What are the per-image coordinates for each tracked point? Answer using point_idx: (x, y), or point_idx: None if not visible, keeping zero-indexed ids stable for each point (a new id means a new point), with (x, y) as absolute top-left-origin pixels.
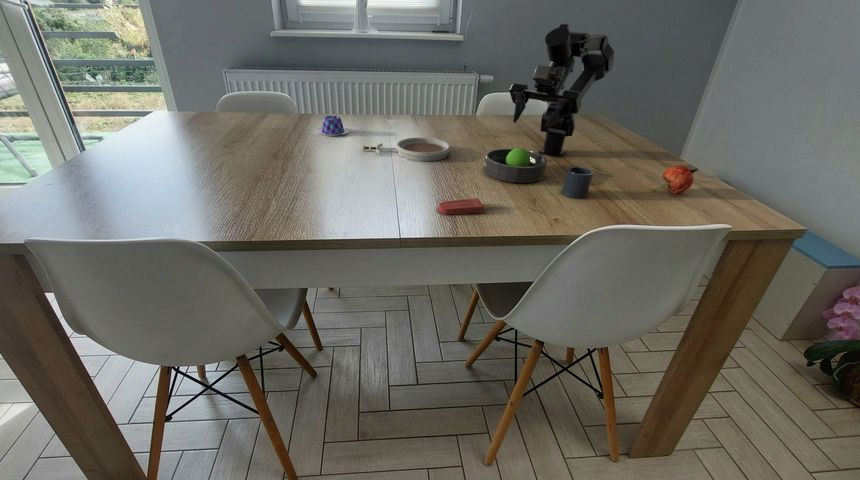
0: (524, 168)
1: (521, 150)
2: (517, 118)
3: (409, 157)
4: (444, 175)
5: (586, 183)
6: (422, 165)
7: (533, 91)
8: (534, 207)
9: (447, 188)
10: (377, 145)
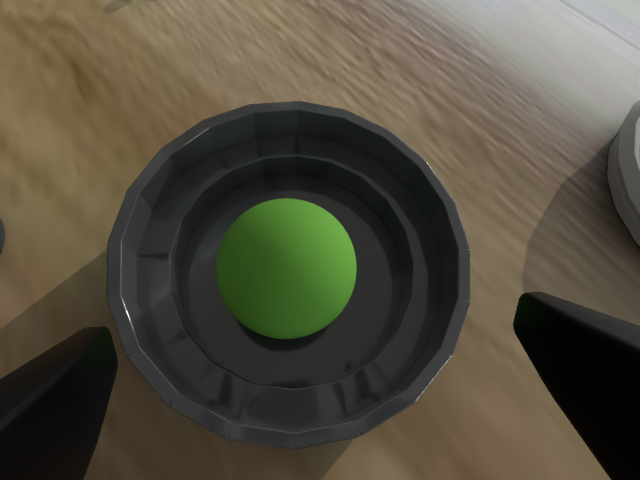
0: (177, 140)
1: (269, 226)
2: (551, 365)
3: None
4: (455, 73)
5: None
6: (579, 97)
7: None
8: (61, 42)
9: (363, 2)
10: None
